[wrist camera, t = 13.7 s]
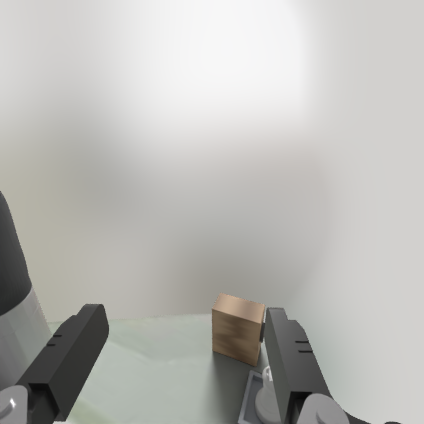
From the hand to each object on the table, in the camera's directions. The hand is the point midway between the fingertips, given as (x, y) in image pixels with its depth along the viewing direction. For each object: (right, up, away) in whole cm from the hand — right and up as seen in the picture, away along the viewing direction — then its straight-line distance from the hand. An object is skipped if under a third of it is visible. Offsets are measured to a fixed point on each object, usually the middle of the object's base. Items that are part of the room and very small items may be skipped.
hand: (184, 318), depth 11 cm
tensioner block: (+6, -20, +30) cm, 37 cm away
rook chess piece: (+10, -23, +21) cm, 33 cm away
